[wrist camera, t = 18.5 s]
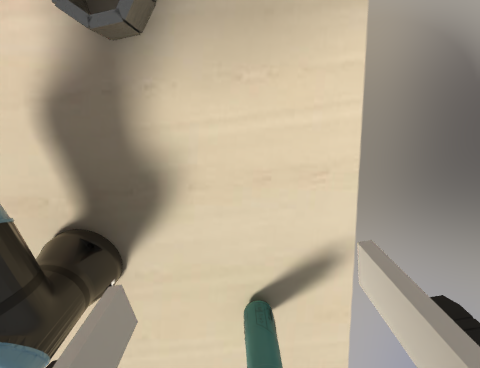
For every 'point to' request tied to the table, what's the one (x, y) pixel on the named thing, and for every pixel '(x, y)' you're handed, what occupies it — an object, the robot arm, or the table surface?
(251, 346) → the beverage bottle
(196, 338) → the table surface
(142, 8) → the ring
